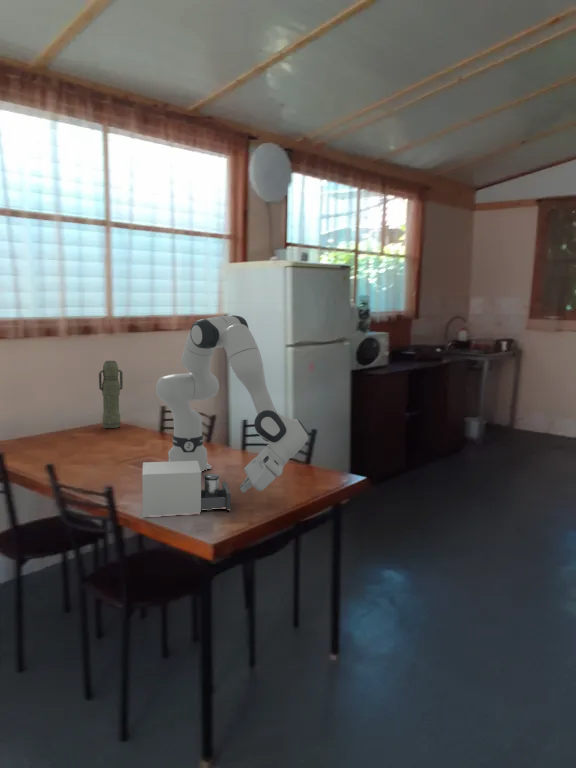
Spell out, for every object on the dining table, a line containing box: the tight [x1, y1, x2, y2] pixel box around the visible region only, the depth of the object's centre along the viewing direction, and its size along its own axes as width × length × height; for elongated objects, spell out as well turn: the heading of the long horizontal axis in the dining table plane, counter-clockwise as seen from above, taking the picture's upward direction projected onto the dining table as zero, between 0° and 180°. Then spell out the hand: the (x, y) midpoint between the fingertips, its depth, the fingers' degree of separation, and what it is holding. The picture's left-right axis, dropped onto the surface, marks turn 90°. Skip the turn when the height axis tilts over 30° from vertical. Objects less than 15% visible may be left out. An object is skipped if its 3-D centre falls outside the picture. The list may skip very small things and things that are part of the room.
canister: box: [203, 473, 220, 498], centre depth 199 cm, size 5×5×9 cm
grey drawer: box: [201, 480, 231, 510], centre depth 198 cm, size 13×17×6 cm
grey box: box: [141, 461, 202, 517], centre depth 195 cm, size 14×18×14 cm
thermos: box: [98, 360, 124, 429], centre depth 314 cm, size 9×12×35 cm
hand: (241, 490), depth 201 cm, fingers closed
